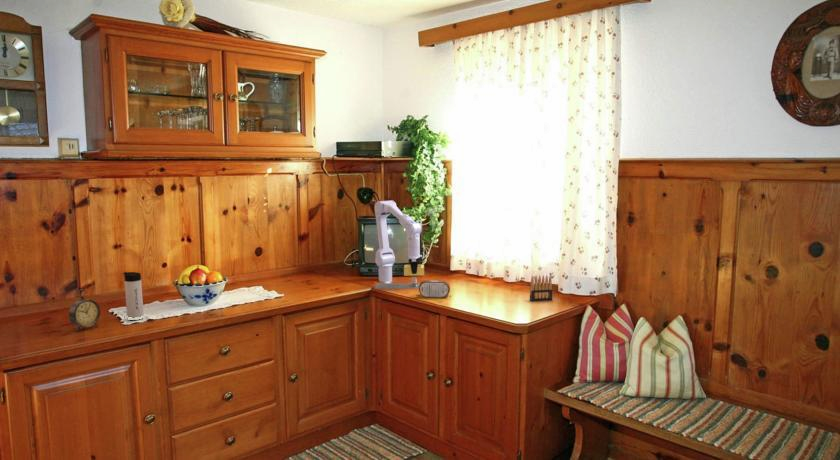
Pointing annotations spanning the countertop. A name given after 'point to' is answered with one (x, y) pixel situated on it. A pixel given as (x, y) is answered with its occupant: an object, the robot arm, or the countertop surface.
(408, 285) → the keeper board
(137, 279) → the travel mug
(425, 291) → the tin
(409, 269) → the link
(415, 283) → the metal drawer knob
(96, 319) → the alarm clock
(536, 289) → the ammunition clip
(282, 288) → the countertop surface
